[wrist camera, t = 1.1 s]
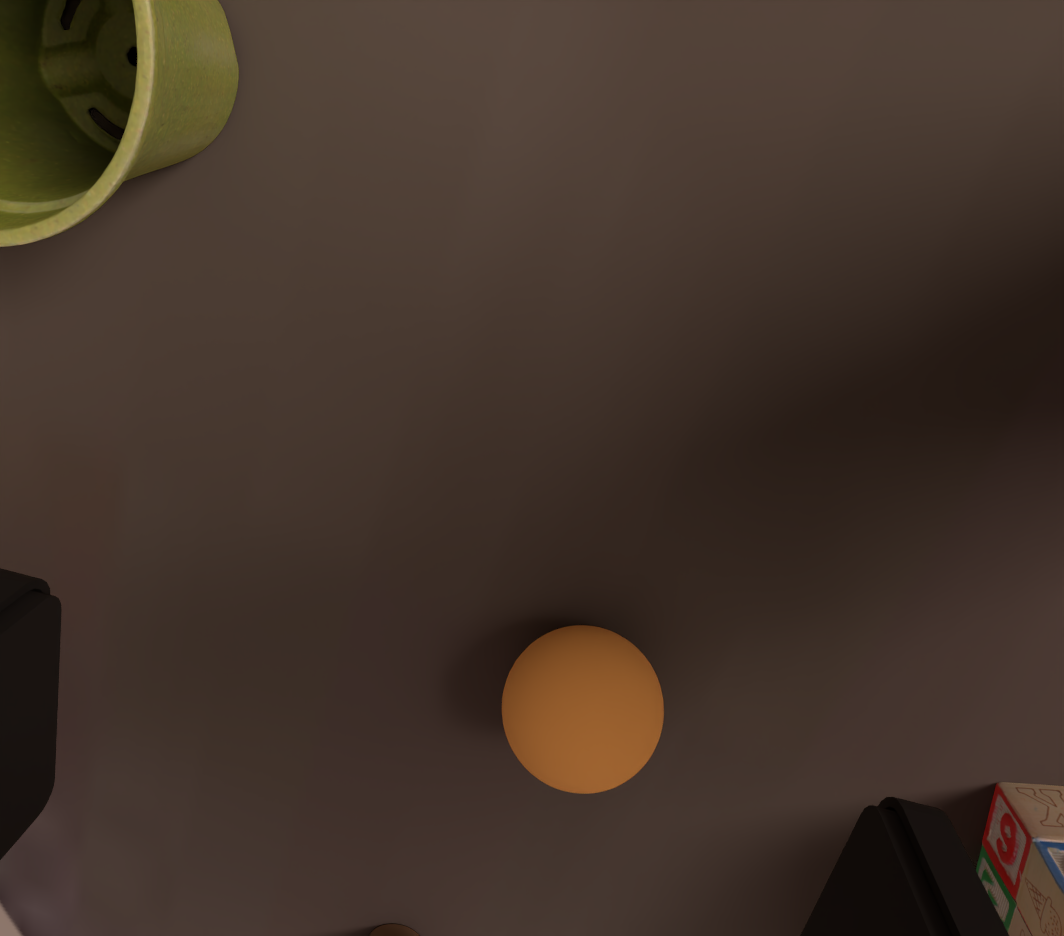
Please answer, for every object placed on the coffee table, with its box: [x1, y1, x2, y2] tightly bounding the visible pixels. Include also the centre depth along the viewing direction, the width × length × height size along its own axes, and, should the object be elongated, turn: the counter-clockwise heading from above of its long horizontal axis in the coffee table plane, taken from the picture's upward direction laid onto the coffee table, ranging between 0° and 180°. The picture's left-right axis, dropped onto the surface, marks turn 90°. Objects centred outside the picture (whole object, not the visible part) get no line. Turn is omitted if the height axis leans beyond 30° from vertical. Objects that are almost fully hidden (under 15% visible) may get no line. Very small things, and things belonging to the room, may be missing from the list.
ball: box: [502, 625, 664, 794], centre depth 29 cm, size 6×6×6 cm
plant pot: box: [0, 0, 239, 247], centre depth 21 cm, size 9×9×9 cm
